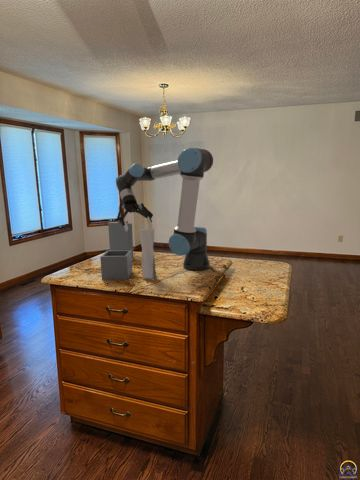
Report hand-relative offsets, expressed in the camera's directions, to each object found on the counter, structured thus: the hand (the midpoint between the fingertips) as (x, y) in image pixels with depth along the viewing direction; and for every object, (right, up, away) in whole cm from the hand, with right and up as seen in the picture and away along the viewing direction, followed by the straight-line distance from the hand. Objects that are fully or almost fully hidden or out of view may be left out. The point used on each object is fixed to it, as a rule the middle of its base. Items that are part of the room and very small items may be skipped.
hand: (139, 228), depth 169 cm
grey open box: (-11, -25, 0) cm, 27 cm away
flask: (-16, -17, +41) cm, 47 cm away
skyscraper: (+5, -26, -4) cm, 27 cm away
